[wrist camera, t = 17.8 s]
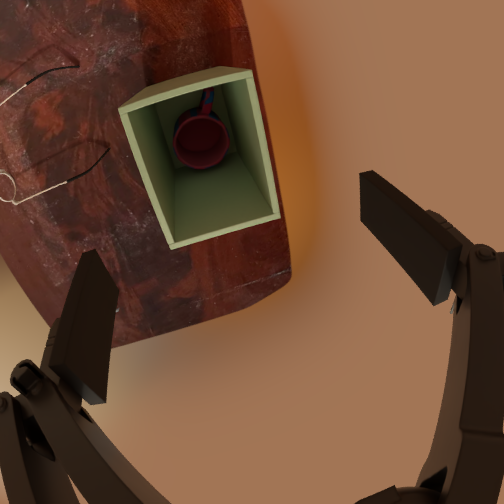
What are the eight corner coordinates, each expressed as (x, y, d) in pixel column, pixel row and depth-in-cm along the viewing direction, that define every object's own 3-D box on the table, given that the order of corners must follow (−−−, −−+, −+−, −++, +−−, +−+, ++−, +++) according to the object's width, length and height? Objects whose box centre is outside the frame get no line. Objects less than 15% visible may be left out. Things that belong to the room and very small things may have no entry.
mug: (168, 147, 41) (166, 163, 35) (188, 79, 36) (189, 82, 31) (214, 158, 43) (220, 174, 38) (236, 91, 38) (246, 97, 33)
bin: (145, 87, 36) (117, 108, 20) (220, 65, 36) (251, 69, 20) (172, 172, 44) (170, 250, 28) (240, 153, 44) (280, 218, 28)
